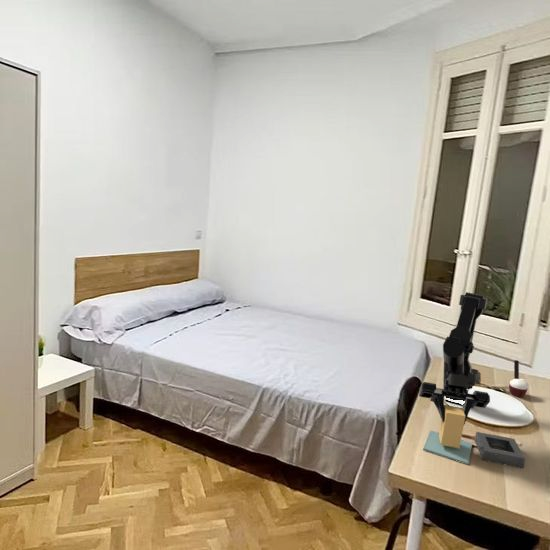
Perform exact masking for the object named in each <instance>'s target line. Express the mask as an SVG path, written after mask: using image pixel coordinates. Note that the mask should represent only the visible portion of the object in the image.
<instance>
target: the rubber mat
mask: <svg viewBox="0 0 550 550" xmlns="http://www.w3.org/2000/svg"><path fill="white" fill-rule="evenodd" d="M472 446H473V443H472V442H469V441H467V440H463V439H461V443H460V448H455V447H450V446H445V445H441V443H440V438H439V432H437V431H434V430H431V429H430V430H429V432H428V436H427V438H426V441H425V443H424V446H423V449H422V451H425V452H427V453H430V454H433V455H436V456H440V457H442V456H443V458H445V457H447V458H446V459H449V458H451V459H450V460H452V459H454V460H453V461H455V460H457V461H456V462H458V461H460V462H459V463H461V462H463V463H462V464H464V463H466V464H465V465H467V464H468V465H469V464H470V463H469V462H470V457H471V452H472Z"/></svg>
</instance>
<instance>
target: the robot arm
mask: <svg viewBox="0 0 550 550" xmlns="http://www.w3.org/2000/svg"><path fill="white" fill-rule="evenodd" d="M487 303H488V298H485V295H483V294H478V293H471V292H465V294H460V297H459V303H458V305H460V310H461V311H460V314H459V316H458V317H459V318H458V321H457V324H456V327H454V328H453V329H451V330H450V333H449V336H446V338H445V340H444V342H443V344H442V351H443V352H442V355H443V356H442V357H443V378H442V379H443V381H442V382H443V388H439V387H437V383H433V382H426V381H423V382H422V383H421V385H420V387H419V393H418V394H419V395H418V396H419V397H420V398H424V399H425V398H426V399H429V400H430V402H433V404H434V405H435V407H436V409H437V412H438V414H439V416H440V419H441V421H442V422H444V421H445V411H444V405H445V397H446V398H450V399H453V400H463V401H465V403H464V404H463V406H462V407H461V408H462V409H463V411H464V414H465V421H464V426H465V424H466V421H467V418H468V416H469V413H470V411H471V410H472V409H474V408H475V407H477V408H480V409H484V408H487V406H488V404H490V403H491V396H490V394H489V393H488V392H487V391H480V390H474V391H473V392H472V393H469V390H472V389H473V387H474V386H476V383H475V375H474V374H473V373H471V369H473V368H472V365H471V362H470V360H469V358H470V354H472V353H473V352H474V349H475V346H474V342H473V338H474V334H475V328H476V324H477V319H478V318H479V317H480V316H481V315H482V314H483V313H484V310H486V308H487Z"/></svg>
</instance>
